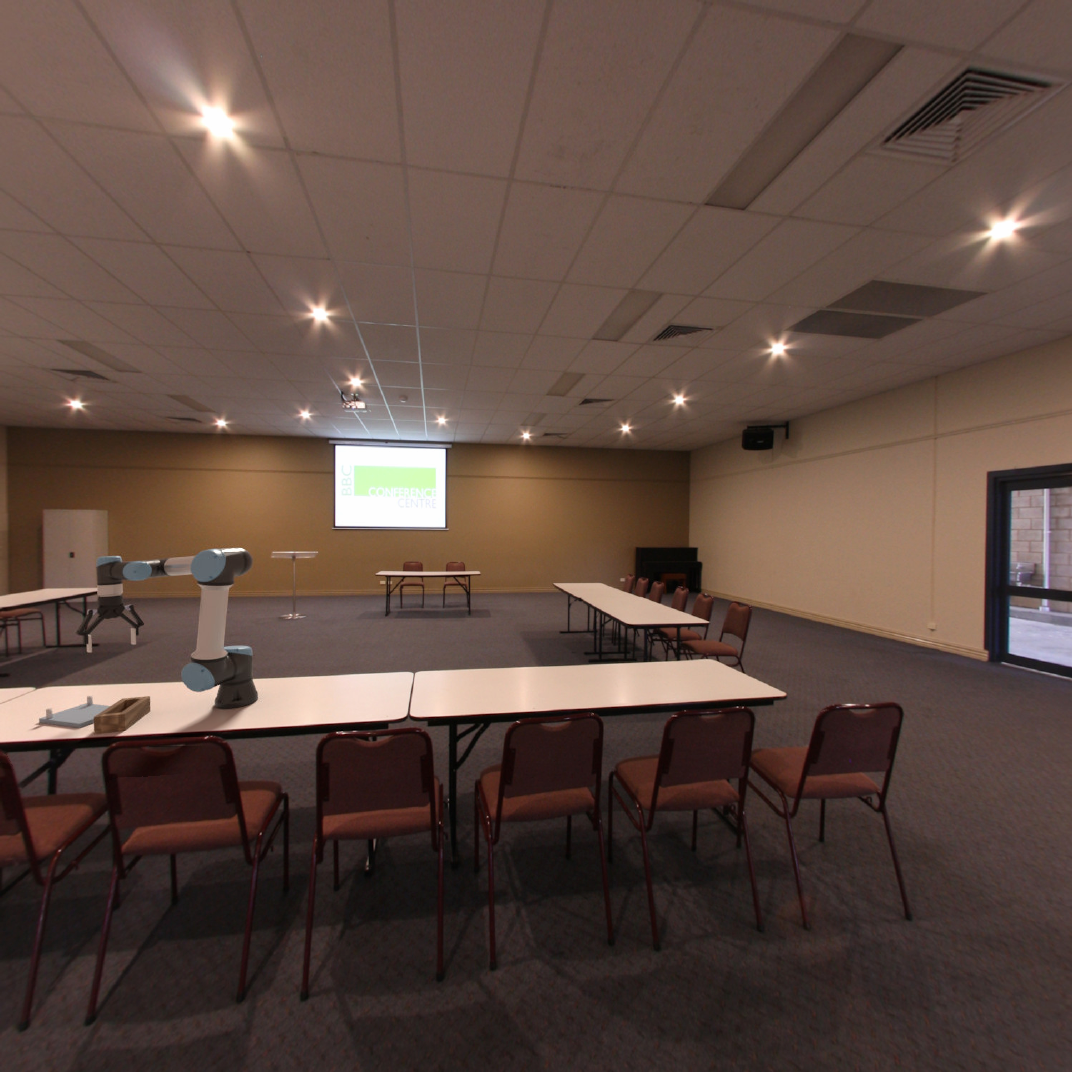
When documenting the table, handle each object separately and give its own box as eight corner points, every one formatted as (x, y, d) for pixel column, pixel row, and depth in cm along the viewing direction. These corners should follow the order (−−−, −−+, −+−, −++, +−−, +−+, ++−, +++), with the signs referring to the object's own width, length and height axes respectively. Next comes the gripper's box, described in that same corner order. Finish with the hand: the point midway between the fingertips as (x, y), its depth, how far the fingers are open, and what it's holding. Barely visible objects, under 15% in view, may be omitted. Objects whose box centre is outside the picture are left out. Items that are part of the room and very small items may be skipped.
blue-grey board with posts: (124, 711, 183) (124, 698, 183) (79, 727, 169) (79, 714, 168) (86, 706, 188) (85, 694, 188) (39, 722, 173) (38, 709, 173)
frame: (150, 711, 184) (150, 696, 183) (125, 730, 166) (124, 714, 166) (122, 713, 181) (122, 698, 181) (94, 734, 164) (93, 717, 164)
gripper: (145, 590, 198) (146, 639, 199) (63, 598, 177) (66, 654, 178) (152, 591, 194) (154, 642, 195) (70, 600, 173) (72, 657, 174)
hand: (112, 648), depth 186 cm, fingers open, 13 cm apart
